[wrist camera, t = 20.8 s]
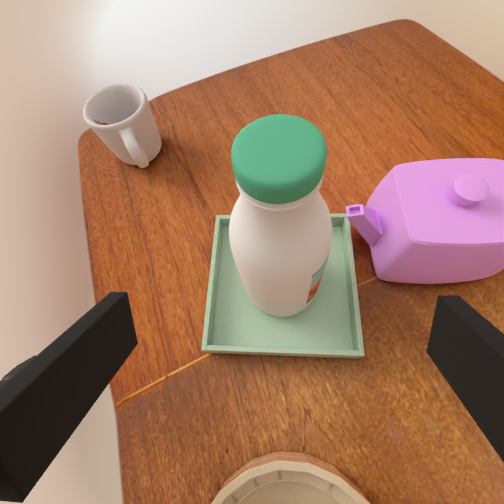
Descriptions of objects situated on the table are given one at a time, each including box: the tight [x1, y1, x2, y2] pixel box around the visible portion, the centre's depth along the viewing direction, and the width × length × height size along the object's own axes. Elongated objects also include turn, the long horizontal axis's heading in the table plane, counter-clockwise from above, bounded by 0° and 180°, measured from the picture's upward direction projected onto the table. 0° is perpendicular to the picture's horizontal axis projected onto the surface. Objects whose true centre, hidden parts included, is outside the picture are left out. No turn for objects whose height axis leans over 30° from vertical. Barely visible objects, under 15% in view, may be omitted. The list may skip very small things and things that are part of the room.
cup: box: [83, 83, 161, 168], centre depth 38 cm, size 11×8×8 cm
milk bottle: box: [229, 114, 333, 317], centre depth 23 cm, size 8×8×20 cm
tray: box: [201, 213, 365, 359], centre depth 31 cm, size 15×15×2 cm
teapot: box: [346, 158, 504, 284], centre depth 28 cm, size 18×10×10 cm, turn 89°
